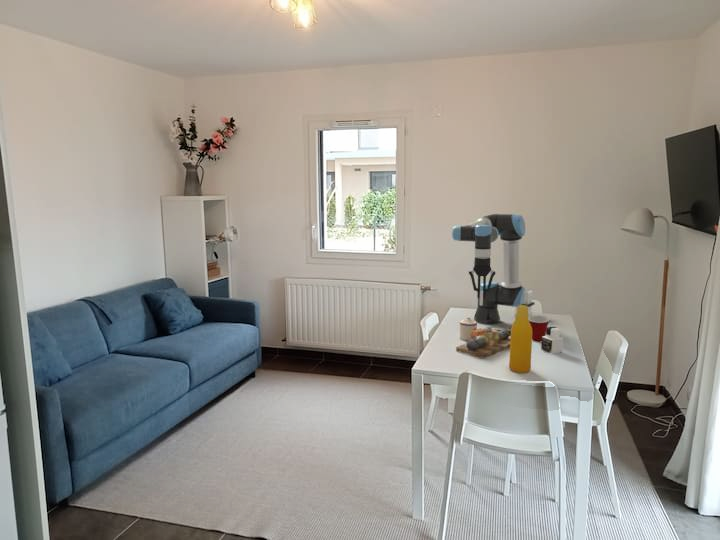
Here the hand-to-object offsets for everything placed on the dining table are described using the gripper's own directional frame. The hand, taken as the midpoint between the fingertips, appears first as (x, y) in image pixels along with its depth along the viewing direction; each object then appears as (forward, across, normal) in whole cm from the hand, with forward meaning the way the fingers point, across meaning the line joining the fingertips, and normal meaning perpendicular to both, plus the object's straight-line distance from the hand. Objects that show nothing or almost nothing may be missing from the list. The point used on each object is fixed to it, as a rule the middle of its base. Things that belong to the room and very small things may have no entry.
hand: (481, 304), depth 269 cm
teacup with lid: (+23, +6, -20) cm, 31 cm away
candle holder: (+25, -26, -74) cm, 82 cm away
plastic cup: (+24, -30, -22) cm, 44 cm away
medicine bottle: (+23, -34, -5) cm, 42 cm away
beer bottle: (+23, -18, +26) cm, 39 cm away
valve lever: (+14, -1, 0) cm, 14 cm away
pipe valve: (+23, -4, -4) cm, 24 cm away
